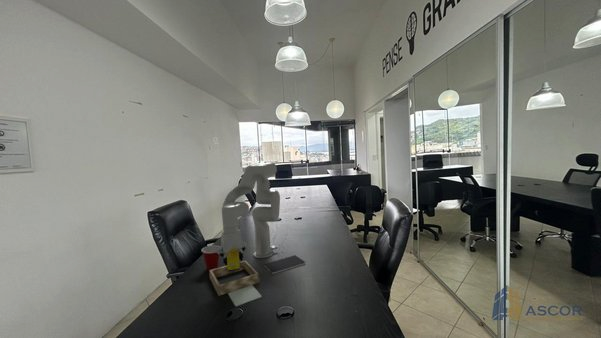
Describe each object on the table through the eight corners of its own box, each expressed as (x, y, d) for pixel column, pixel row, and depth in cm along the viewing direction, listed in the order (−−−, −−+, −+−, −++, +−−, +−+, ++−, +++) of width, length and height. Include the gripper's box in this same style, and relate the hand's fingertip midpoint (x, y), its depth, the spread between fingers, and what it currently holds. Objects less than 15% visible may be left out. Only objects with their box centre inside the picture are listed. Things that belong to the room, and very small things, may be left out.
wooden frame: (246, 268, 140) (245, 260, 140) (259, 282, 123) (258, 273, 123) (209, 278, 130) (209, 270, 130) (218, 295, 113) (218, 286, 113)
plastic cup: (216, 273, 136) (214, 252, 135) (198, 272, 138) (197, 251, 137) (225, 264, 146) (224, 245, 146) (209, 263, 149) (208, 244, 148)
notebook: (295, 257, 153) (263, 266, 143) (295, 255, 153) (263, 264, 142) (305, 264, 142) (272, 275, 132) (305, 262, 142) (272, 272, 132)
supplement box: (228, 266, 129) (226, 246, 129) (240, 264, 131) (238, 245, 130) (227, 271, 124) (226, 251, 123) (239, 270, 125) (238, 249, 124)
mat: (252, 285, 120) (252, 285, 120) (261, 297, 110) (261, 296, 110) (228, 293, 114) (228, 293, 114) (235, 306, 104) (235, 305, 104)
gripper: (244, 223, 133) (247, 255, 135) (211, 231, 124) (214, 264, 126) (249, 227, 127) (252, 260, 128) (215, 234, 118) (218, 270, 119)
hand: (233, 262), depth 127 cm, fingers closed on supplement box, 7 cm apart
